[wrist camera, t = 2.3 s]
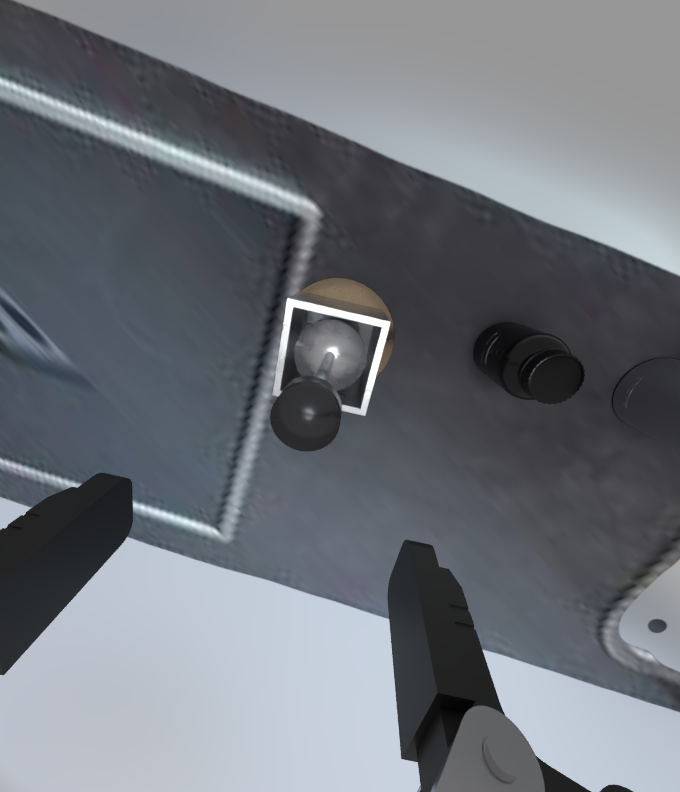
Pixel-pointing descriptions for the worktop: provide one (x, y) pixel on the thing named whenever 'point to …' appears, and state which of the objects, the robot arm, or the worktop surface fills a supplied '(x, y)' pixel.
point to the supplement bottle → (529, 363)
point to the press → (348, 306)
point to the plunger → (318, 385)
